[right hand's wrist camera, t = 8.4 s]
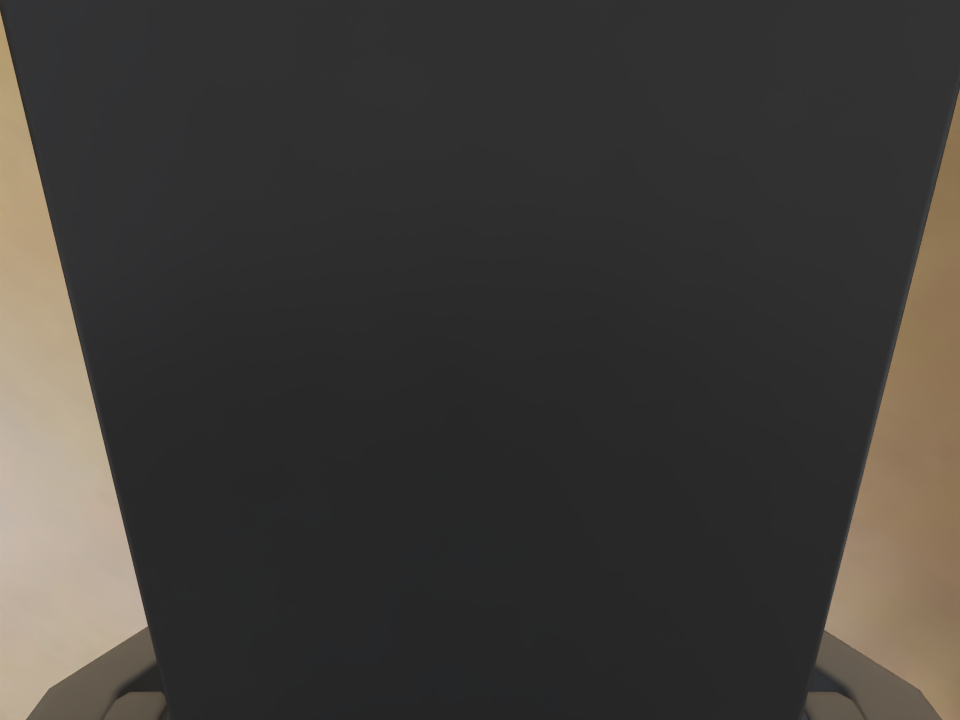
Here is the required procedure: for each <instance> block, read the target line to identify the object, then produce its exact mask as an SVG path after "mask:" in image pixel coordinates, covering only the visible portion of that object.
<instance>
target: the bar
mask: <svg viewBox="0 0 960 720" xmlns="http://www.w3.org/2000/svg"><path fill="white" fill-rule="evenodd" d="M0 12H1V16H2V20H3V24H4V28H5V33H6V37H7V41H8V45H9V49H10V53H11V58H12V62H13V66H14V70H15V74H16V78H17V83H18V87H19V91H20V95H21V99H22V103H23V107H24V112H25V116H26V120H27V124H28V128H29V132H30V137H31V141H32V145H33V149H34V153H35V157H36V162H37V166H38V170H39V174H40V178H41V182H42V187H43V191H44V195H45V199H46V203H47V207H48V211H49V216H50V220H51V224H52V228H53V232H54V236H55V241H56V245H57V249H58V253H59V257H60V261H61V266H62V270H63V274H64V278H65V282H66V286H67V290H68V295H69V299H70V303H71V307H72V311H73V315H74V320H75V324H76V328H77V332H78V336H79V340H80V345H81V349H82V353H83V357H84V361H85V365H86V370H87V374H88V378H89V382H90V386H91V390H92V394H93V399H94V403H95V407H96V411H97V415H98V419H99V424H100V428H101V432H102V436H103V440H104V444H105V449H106V453H107V457H108V461H109V465H110V469H111V473H112V478H113V482H114V486H115V490H116V494H117V498H118V503H119V507H120V511H121V515H122V519H123V523H124V528H125V532H126V536H127V540H128V544H129V548H130V553H131V557H132V561H133V565H134V569H135V573H136V577H137V582H138V586H139V590H140V594H141V598H142V602H143V607H144V611H145V615H146V619H147V623H148V627H149V632H150V636H151V640H152V644H153V648H154V652H155V656H156V661H157V665H158V669H159V673H160V677H161V681H162V686H163V690H164V694H165V698H166V702H167V706H168V711H169V715H170V719H171V720H801V719H802V715H803V711H804V707H805V703H806V699H807V695H808V691H809V687H810V683H811V679H812V675H813V671H814V667H815V663H816V659H817V655H818V651H819V647H820V643H821V639H822V635H823V631H824V627H825V623H826V619H827V615H828V611H829V607H830V603H831V599H832V595H833V591H834V587H835V583H836V579H837V576H838V572H839V568H840V564H841V560H842V556H843V552H844V548H845V544H846V540H847V536H848V532H849V528H850V524H851V520H852V516H853V512H854V508H855V504H856V500H857V496H858V492H859V488H860V484H861V480H862V476H863V472H864V468H865V464H866V460H867V456H868V452H869V448H870V444H871V440H872V436H873V432H874V428H875V424H876V420H877V416H878V412H879V408H880V404H881V400H882V396H883V392H884V388H885V384H886V380H887V376H888V372H889V368H890V364H891V360H892V356H893V352H894V348H895V344H896V340H897V336H898V332H899V328H900V324H901V320H902V316H903V312H904V308H905V304H906V300H907V296H908V292H909V288H910V284H911V280H912V276H913V272H914V268H915V264H916V260H917V256H918V252H919V249H920V245H921V241H922V237H923V233H924V229H925V225H926V221H927V217H928V213H929V209H930V205H931V201H932V197H933V193H934V189H935V185H936V181H937V177H938V173H939V169H940V165H941V161H942V157H943V153H944V149H945V145H946V141H947V137H948V133H949V129H950V125H951V121H952V117H953V113H954V109H955V105H956V101H957V97H958V93H959V89H960V0H0Z"/></svg>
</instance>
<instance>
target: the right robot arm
mask: <svg viewBox="0 0 960 720" xmlns="http://www.w3.org/2000/svg"><path fill="white" fill-rule="evenodd" d="M26 720H171V719H170V715H169V711H168V706H167V702H166V698H165V694H164V690H163V686H162V681H161V677H160V673H159V669H158V665H157V661H156V656H155V652H154V648H153V644H152V640H151V636H150V632H149V627H146V628H145V629H143V630H141V631H140V632H138V633H137V634H135V635H134V636H132V637H130V638H129V639H127V640H126V641H124V642H122V643H121V644H119V645H118V646H116V647H115V648H113V649H111V650H110V651H108V652H107V653H105V654H104V655H102V656H100V657H99V658H97V659H96V660H94V661H92V662H91V663H89V664H88V665H86V666H85V667H83V668H81V669H80V670H78V671H77V672H75V673H73V674H72V675H70V676H69V677H67V678H66V679H64V680H62V681H61V682H59V683H58V684H56V685H55V686H53V687H51V688H50V689H49V690H48V691H47V692H46V694H45V695H44V696H43V698H42V699H41V700H40V702H39V703H38V704H37V706H36V707H35V708H34V710H33V711H32V712H31V714H30V715H29V716H28V718H27V719H26ZM801 720H942V719H941V718H940V716H939V715H938V714H937V712H936V711H935V710H934V708H933V707H932V706H931V704H930V703H929V702H928V700H927V699H926V698H925V696H924V695H923V694H922V692H921V691H920V690H919V689H917V688H916V687H914V686H912V685H911V684H909V683H908V682H906V681H905V680H903V679H901V678H900V677H898V676H897V675H895V674H893V673H892V672H890V671H889V670H887V669H885V668H884V667H882V666H881V665H879V664H878V663H876V662H874V661H873V660H871V659H870V658H868V657H866V656H865V655H863V654H862V653H860V652H858V651H857V650H855V649H854V648H852V647H850V646H849V645H847V644H846V643H844V642H843V641H841V640H839V639H838V638H836V637H835V636H833V635H831V634H830V633H828V632H827V631H825V630H824V631H823V635H822V639H821V643H820V647H819V651H818V655H817V659H816V663H815V667H814V671H813V675H812V679H811V683H810V687H809V691H808V695H807V699H806V703H805V707H804V711H803V715H802V719H801Z"/></svg>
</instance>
